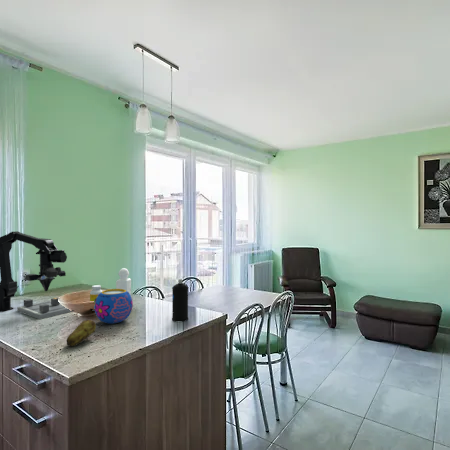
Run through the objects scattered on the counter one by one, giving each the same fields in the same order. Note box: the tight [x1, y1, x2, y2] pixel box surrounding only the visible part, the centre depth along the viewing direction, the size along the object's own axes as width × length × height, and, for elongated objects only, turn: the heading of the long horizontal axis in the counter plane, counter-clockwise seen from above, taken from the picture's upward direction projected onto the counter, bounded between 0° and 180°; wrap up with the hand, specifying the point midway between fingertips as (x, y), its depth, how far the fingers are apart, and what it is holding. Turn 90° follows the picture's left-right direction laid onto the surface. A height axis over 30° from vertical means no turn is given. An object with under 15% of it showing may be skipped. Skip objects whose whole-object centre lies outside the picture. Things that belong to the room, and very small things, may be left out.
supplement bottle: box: [89, 284, 103, 302], centre depth 173 cm, size 7×7×13 cm
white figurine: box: [115, 267, 132, 296], centre depth 178 cm, size 6×6×22 cm
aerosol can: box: [171, 278, 190, 322], centre depth 155 cm, size 8×8×20 cm
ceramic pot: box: [94, 288, 134, 325], centre depth 151 cm, size 18×18×15 cm
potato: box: [66, 319, 97, 348], centre depth 125 cm, size 8×13×8 cm, turn 142°
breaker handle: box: [50, 297, 61, 305], centre depth 173 cm, size 4×3×3 cm
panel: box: [16, 298, 71, 320], centre depth 169 cm, size 25×18×6 cm
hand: (46, 291), depth 169 cm, fingers closed
